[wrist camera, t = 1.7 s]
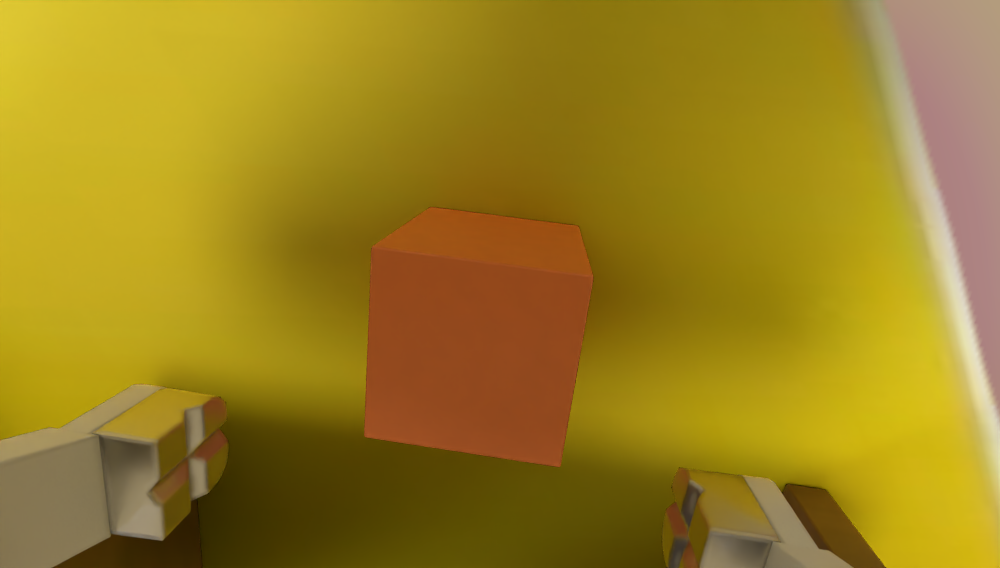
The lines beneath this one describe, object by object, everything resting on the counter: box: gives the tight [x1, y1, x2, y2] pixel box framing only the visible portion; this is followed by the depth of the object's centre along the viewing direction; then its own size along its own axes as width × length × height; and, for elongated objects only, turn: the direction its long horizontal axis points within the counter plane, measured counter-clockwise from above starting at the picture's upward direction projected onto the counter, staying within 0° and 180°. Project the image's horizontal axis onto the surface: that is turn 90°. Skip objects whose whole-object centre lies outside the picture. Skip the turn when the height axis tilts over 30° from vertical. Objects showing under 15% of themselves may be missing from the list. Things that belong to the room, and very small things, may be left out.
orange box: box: [364, 207, 594, 467], centre depth 15 cm, size 5×5×6 cm
